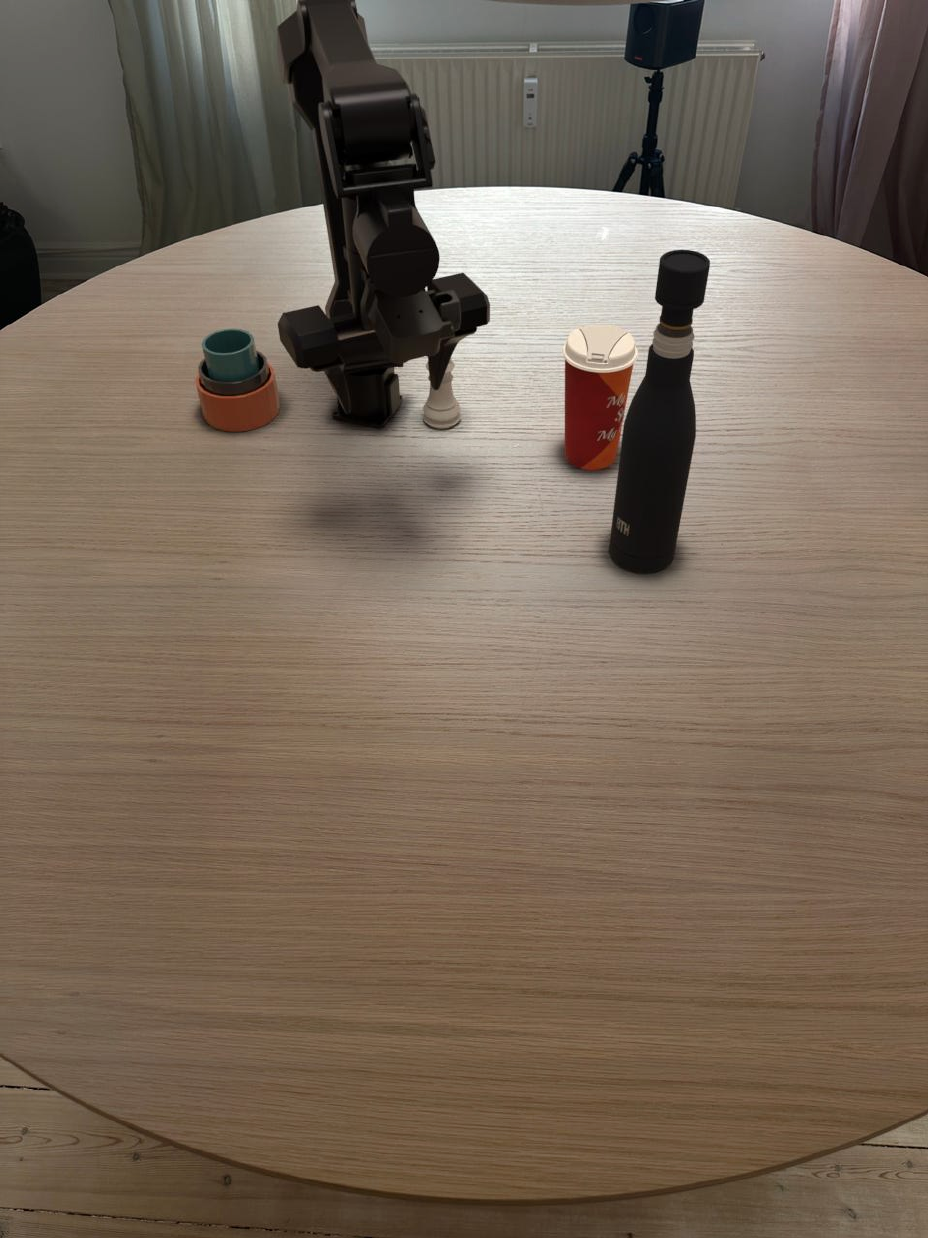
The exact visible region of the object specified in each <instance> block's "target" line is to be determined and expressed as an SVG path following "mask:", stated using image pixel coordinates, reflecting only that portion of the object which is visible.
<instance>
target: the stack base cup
mask: <svg viewBox="0 0 928 1238" xmlns="http://www.w3.org/2000/svg"><path fill="white" fill-rule="evenodd" d="M267 363H268V369H269V375H270V380H269V381H268V382H267V383H266V384H265V385H264V386H263V387H261V388H260V389H258V390H256V391H254V392H251V393H248V394H245V395H239V396H218V395H214V394H211V393H209V392H207V391H205V390H204V389H203V388H202V384H201V380H200V375H199V372H198V373H197V375H196V377H195V385H196V391H197V395H198V399H199V403H200V407H201V412H202V416H203V418H204V421H205V422H206V423H207V424H208V425H209V426H211V427H212V428H214V429H217V430H220V431H224V432H229V433H230V432H233V433H235V432H236V433H238V432H248V431H252V430H256V429H259V428H261V427H264V426H265V425H268V424H269V423H271V421H273V420H274V419H275V418H276V417H277V416H278V414H279V412H280V408H281V402H280V397H279V390H278V384H277V379H276V374H275V369H274V368H273V366H272V365H271V363H269V362H268V361H267Z"/></svg>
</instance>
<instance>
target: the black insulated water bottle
mask: <svg viewBox="0 0 928 1238" xmlns="http://www.w3.org/2000/svg"><path fill="white" fill-rule="evenodd" d="M658 263H659V264H658V272H657V278H656V286H655V293H654V300H655V301H656V303H657V304H658V305H660V306H661V312H660V313H661V314H660V316H659V320H658V321H659V323H657V325H656V326H655V329H654V331H653V332H652V333H653V334H652V337H653V338H652V342H651V344H650V345H649V347H648V351H647V358H646V367H645V374H644V377H643V379H642V380H641V382H640V384H639V386H638V388H637V389H636V392H635V393H634V395H633V397H632V399H631V402H630V404H629V406H628V409H627V412H626V416H625V419H624V421H623V426H622V436H621V444H620V445H621V446H620V453H619V459H618V460H619V461H618V470H617V476H616V487H615V497H614V503H613V511H612V520H611V528H610V537H609V545H608V552H609V556H610V558H611V560H612V561H613V562H614V563H615V564H616V565H617V566H619V567H621V568H622V569H624V570H626V571H629V572H631V573H636V574H652V573H657V572H659V571H662V570H664V569H666V568H667V567H668V566H670V565H671V564H672V561H673V560H674V557H675V553H676V547H677V541H678V535H679V530H680V525H681V520H682V514H683V509H684V504H685V497H686V492H687V486H688V482H689V476H690V471H691V466H692V465H691V464H692V459H693V453H694V448H695V443H696V438H697V415H696V404H695V402H696V401H695V398H694V393H693V389H692V383H691V376H692V370H693V369H692V368H693V364H694V357H695V350H694V349H693V347H694V340H695V333H694V328H693V326H692V325H693V322H694V321H693V320H694V319H693V315H694V310H695V309H698V308H699V307H701V306H702V305H703V304H704V302H705V297H706V290H707V285H708V279H709V274H710V273H709V272H710V267H711V260H710V259H709V257H708V256H707V255H705V254H704V253H702V252H700V251H696V250H691V249H673V250H670V251H667V252H665V253H663V254H662V255H661V256H660V257H659V262H658Z"/></svg>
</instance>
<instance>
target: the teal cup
mask: <svg viewBox="0 0 928 1238" xmlns="http://www.w3.org/2000/svg"><path fill="white" fill-rule="evenodd" d="M201 348H202V353H203V356H204V357H203V358H205V362H206V366H207V370H208V375H209V379H211V380H215V381H220V382H234V381H240V380H244V379H247V378H250V377H252V376H254V375H255V374H257V373H258V372H259V371H260V369H259V363H258V358H257V352H256V351H257V348H256V342H255V337H254V336H253V334H252V333H251V332H250V331H248V330H244V329H241V328H223V329H220V330H216V331H214V332H211V333H209V334H208V335H206V337H204V338H203V340H202V342H201Z"/></svg>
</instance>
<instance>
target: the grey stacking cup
mask: <svg viewBox="0 0 928 1238" xmlns="http://www.w3.org/2000/svg"><path fill="white" fill-rule="evenodd" d="M256 352H257V358H258V363H259V369H260V371H259V372H258V373H257V374H255V375H254V376H252V377H250V378H247V379H244V380H240V381H234V382H220V381H215V380H211V379H209V375H208V370H207V366H206V362H205V357H203V359H202V360H201V361H200V362H199V364H198V366H197V367H198V369H197V370H198V373H199V375H200V380H201V384H202V388H203V389H204V390H205V391H207V392H209V393H211V394H214V395H218V396H239V395H245V394H248V393H251V392H254V391H256V390H258V389H260V388H261V387H263V386H264V385H265V384H266V383H267V382H268V381H269V380H270V375H269V369H268V363H269V362H268V359H267V357H266V356H265V355H264V354H263V353H262V352H261V351H258V350H256ZM267 362H268V363H267Z"/></svg>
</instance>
